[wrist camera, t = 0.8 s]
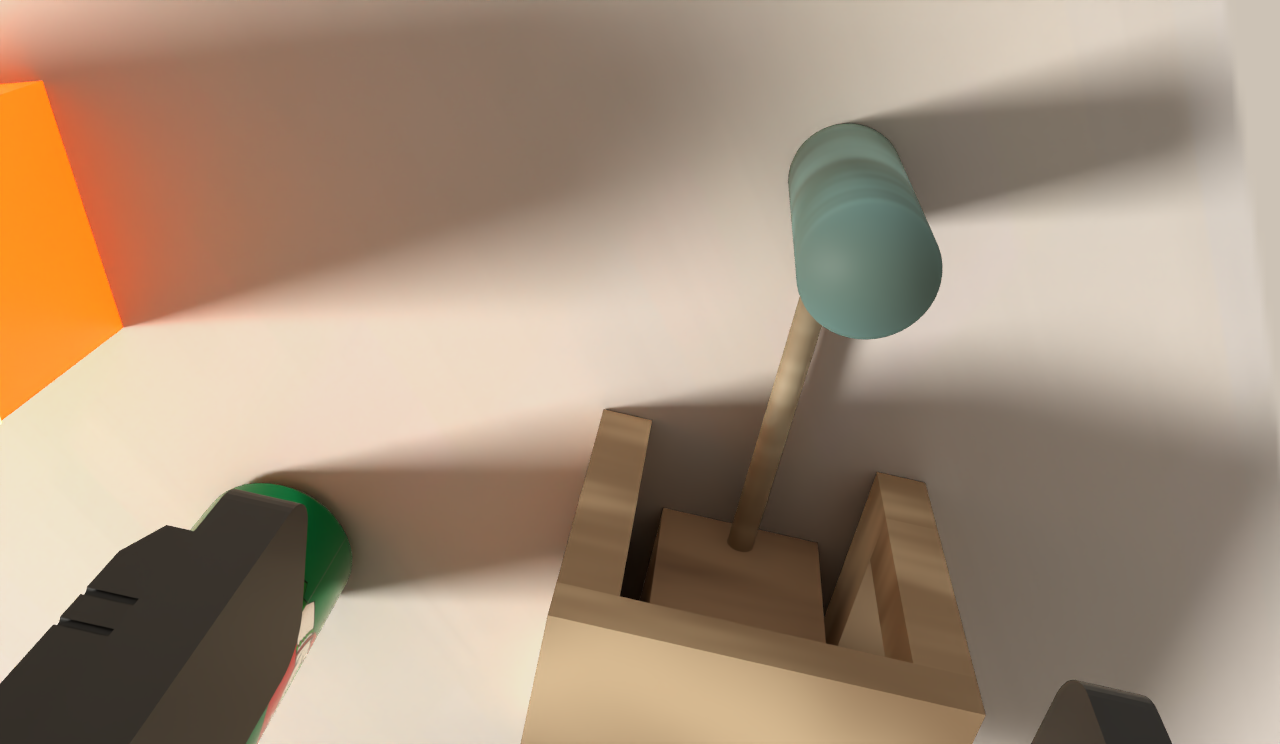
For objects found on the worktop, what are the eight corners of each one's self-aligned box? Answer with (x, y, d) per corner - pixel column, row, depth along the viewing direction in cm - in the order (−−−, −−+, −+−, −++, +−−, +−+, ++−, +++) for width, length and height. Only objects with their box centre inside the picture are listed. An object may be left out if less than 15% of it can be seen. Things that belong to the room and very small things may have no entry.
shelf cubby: (808, 781, 38) (823, 1055, 30) (536, 719, 38) (471, 975, 30) (925, 482, 33) (985, 715, 24) (604, 409, 33) (547, 615, 24)
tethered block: (776, 660, 36) (780, 832, 30) (632, 628, 36) (605, 792, 30) (954, 146, 28) (1010, 234, 22) (768, 103, 28) (770, 179, 22)
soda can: (185, 487, 35) (-63, 766, 25) (324, 461, 34) (129, 741, 24) (247, 608, 37) (42, 915, 27) (380, 587, 36) (222, 897, 26)
